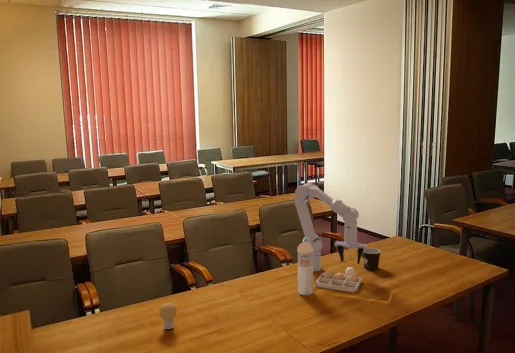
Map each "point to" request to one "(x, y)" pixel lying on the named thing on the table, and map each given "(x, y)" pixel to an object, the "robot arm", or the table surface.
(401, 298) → the table surface
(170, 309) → the light bulb
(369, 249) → the coffee mug
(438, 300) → the table surface
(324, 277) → the carton
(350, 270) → the white rounded ball
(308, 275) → the water bottle
